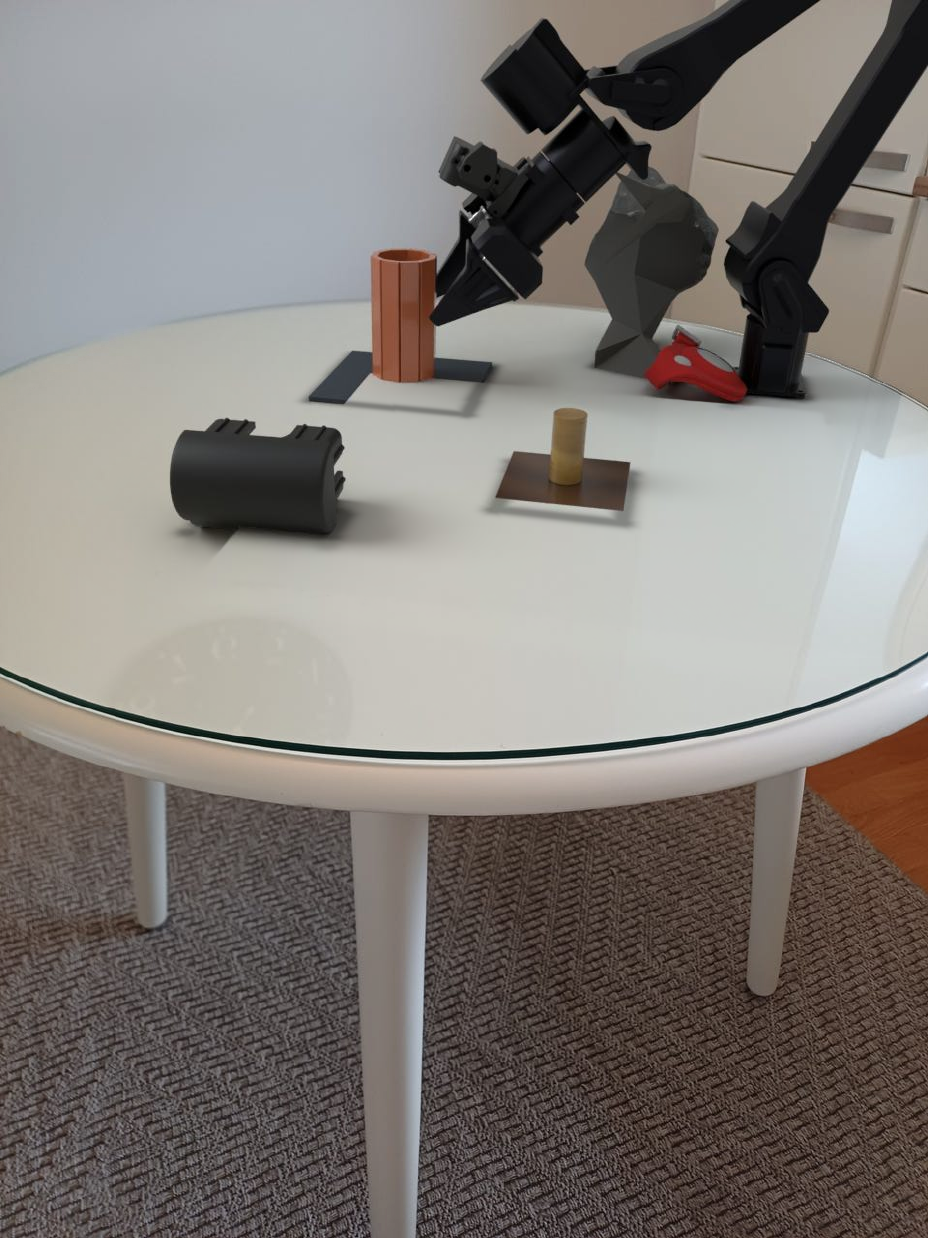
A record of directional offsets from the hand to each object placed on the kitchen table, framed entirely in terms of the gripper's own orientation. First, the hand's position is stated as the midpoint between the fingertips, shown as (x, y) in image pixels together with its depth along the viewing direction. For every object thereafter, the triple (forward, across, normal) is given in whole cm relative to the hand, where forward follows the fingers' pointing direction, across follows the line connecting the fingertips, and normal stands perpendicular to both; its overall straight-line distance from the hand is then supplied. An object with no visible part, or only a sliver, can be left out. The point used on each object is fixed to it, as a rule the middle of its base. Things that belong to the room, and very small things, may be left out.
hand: (431, 307), depth 97 cm
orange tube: (+6, 0, +3) cm, 7 cm away
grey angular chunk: (-10, -11, +20) cm, 25 cm away
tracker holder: (-12, 0, +22) cm, 25 cm away
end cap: (+13, +31, -4) cm, 34 cm away
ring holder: (-2, +24, +11) cm, 27 cm away
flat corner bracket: (+6, 0, +3) cm, 7 cm away
